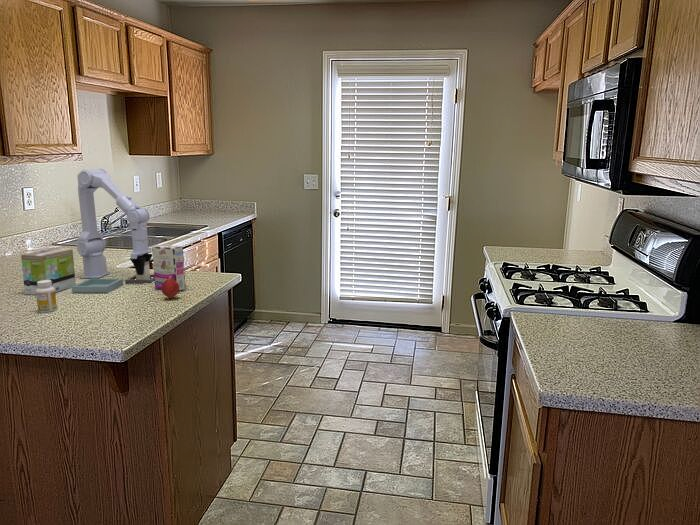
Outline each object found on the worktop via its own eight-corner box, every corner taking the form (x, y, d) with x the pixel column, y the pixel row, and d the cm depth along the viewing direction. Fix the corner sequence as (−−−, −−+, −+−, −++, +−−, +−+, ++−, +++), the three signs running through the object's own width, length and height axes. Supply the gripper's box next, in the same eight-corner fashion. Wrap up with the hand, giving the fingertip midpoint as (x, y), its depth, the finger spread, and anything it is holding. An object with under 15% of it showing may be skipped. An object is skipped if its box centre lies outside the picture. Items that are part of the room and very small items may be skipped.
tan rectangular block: (140, 278, 219) (139, 261, 217) (150, 278, 218) (148, 261, 217) (136, 280, 215) (134, 263, 213) (146, 280, 214) (144, 263, 213)
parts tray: (90, 285, 210) (89, 278, 210) (123, 285, 210) (122, 278, 209) (72, 293, 198) (71, 286, 197) (107, 293, 197) (106, 286, 197)
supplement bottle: (52, 307, 180) (49, 278, 178) (60, 310, 176) (56, 280, 174) (35, 310, 176) (31, 281, 174) (42, 313, 172) (38, 284, 170)
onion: (162, 301, 186) (160, 278, 184) (162, 297, 191) (161, 275, 190) (179, 300, 187) (178, 277, 186) (180, 296, 193) (178, 274, 191)
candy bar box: (186, 289, 202) (183, 246, 199) (176, 292, 198) (173, 248, 194) (164, 286, 207) (161, 244, 204) (154, 289, 203) (151, 246, 199)
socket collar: (136, 278, 222) (136, 274, 221) (160, 278, 221) (160, 274, 221) (125, 283, 212) (125, 280, 212) (150, 283, 212) (150, 280, 211)
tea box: (48, 296, 195) (43, 255, 192) (24, 294, 197) (19, 254, 194) (77, 286, 209) (73, 248, 206) (54, 285, 211) (50, 247, 208)
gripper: (142, 242, 206) (145, 277, 209) (157, 236, 220) (159, 269, 223) (124, 242, 206) (127, 277, 209) (140, 236, 221) (142, 269, 223)
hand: (142, 273), depth 216 cm, fingers closed on tan rectangular block, 4 cm apart
